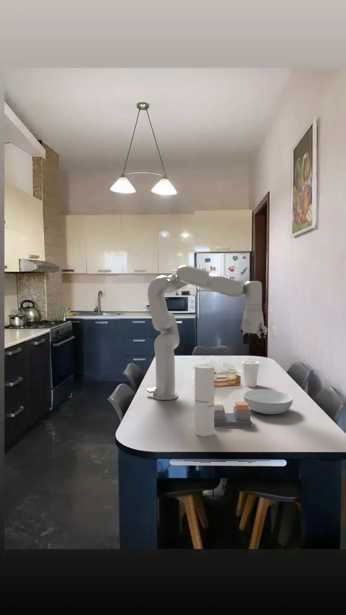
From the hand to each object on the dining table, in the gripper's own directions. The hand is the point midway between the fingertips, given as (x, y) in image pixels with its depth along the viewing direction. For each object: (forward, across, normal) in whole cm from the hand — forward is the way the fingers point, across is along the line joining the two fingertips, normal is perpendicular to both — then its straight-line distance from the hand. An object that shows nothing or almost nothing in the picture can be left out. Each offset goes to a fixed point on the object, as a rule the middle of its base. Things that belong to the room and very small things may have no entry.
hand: (253, 345), depth 167 cm
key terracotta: (+23, +15, -20) cm, 34 cm away
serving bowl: (+28, +10, -1) cm, 30 cm away
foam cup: (+28, -26, +21) cm, 43 cm away
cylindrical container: (+28, +16, -38) cm, 50 cm away
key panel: (+28, +12, -24) cm, 38 cm away
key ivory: (+23, +10, -28) cm, 38 cm away
